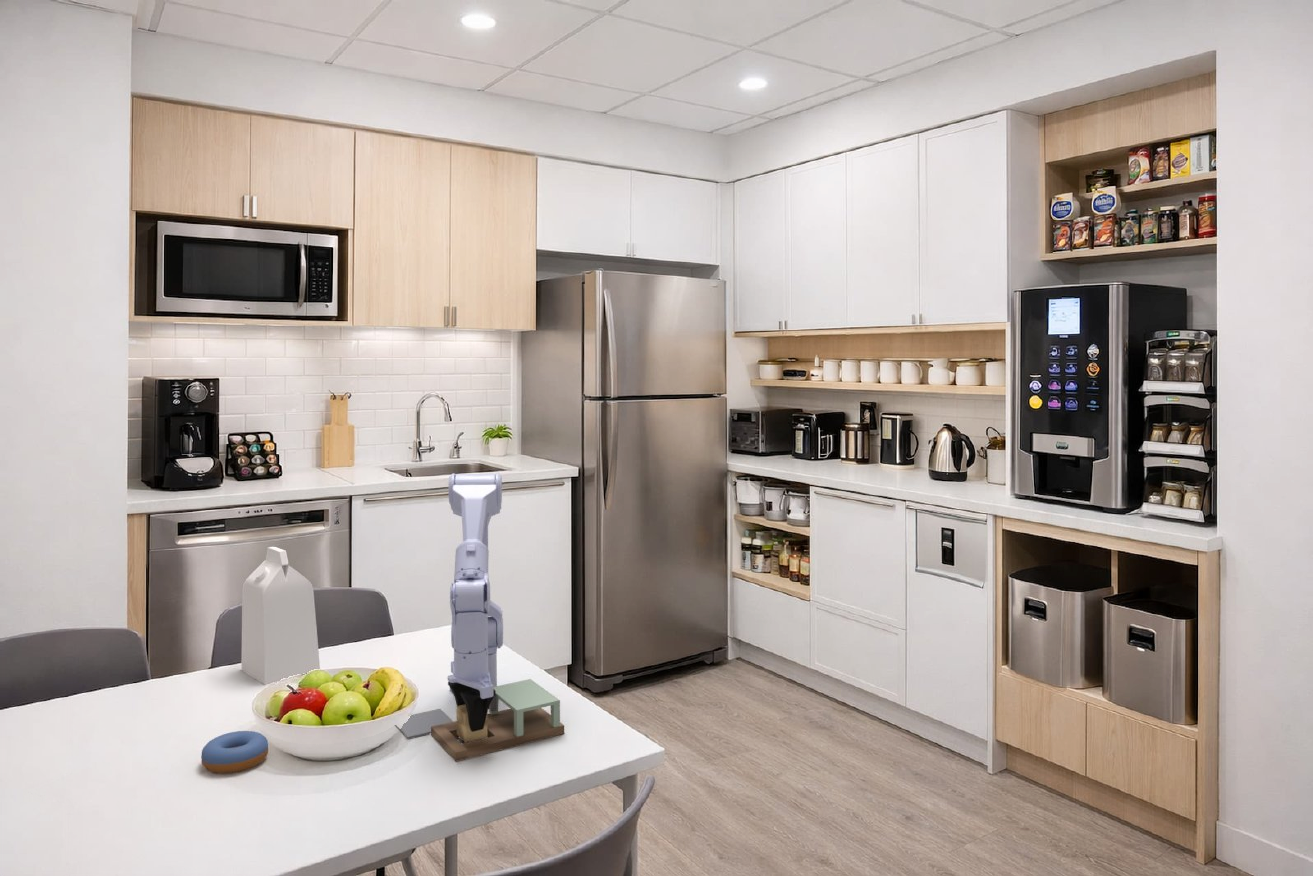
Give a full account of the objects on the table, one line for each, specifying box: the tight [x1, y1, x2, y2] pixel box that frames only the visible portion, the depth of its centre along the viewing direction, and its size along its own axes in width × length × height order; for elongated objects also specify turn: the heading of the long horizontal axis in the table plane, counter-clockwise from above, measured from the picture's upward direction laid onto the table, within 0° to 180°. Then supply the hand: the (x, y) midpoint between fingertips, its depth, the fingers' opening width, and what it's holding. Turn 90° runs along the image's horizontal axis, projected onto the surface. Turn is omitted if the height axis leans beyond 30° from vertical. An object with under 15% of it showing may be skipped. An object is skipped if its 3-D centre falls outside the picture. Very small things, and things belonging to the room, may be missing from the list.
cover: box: [488, 678, 561, 737], centre depth 157 cm, size 12×9×5 cm
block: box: [455, 705, 488, 744], centre depth 151 cm, size 4×4×5 cm
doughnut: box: [200, 730, 269, 775], centre depth 143 cm, size 10×10×5 cm
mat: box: [399, 708, 454, 740], centre depth 158 cm, size 9×9×1 cm
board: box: [430, 708, 565, 762], centre depth 154 cm, size 12×20×2 cm, turn 123°
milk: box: [240, 546, 321, 686], centre depth 184 cm, size 12×12×26 cm
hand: (471, 725), depth 151 cm, fingers closed on block, 4 cm apart
